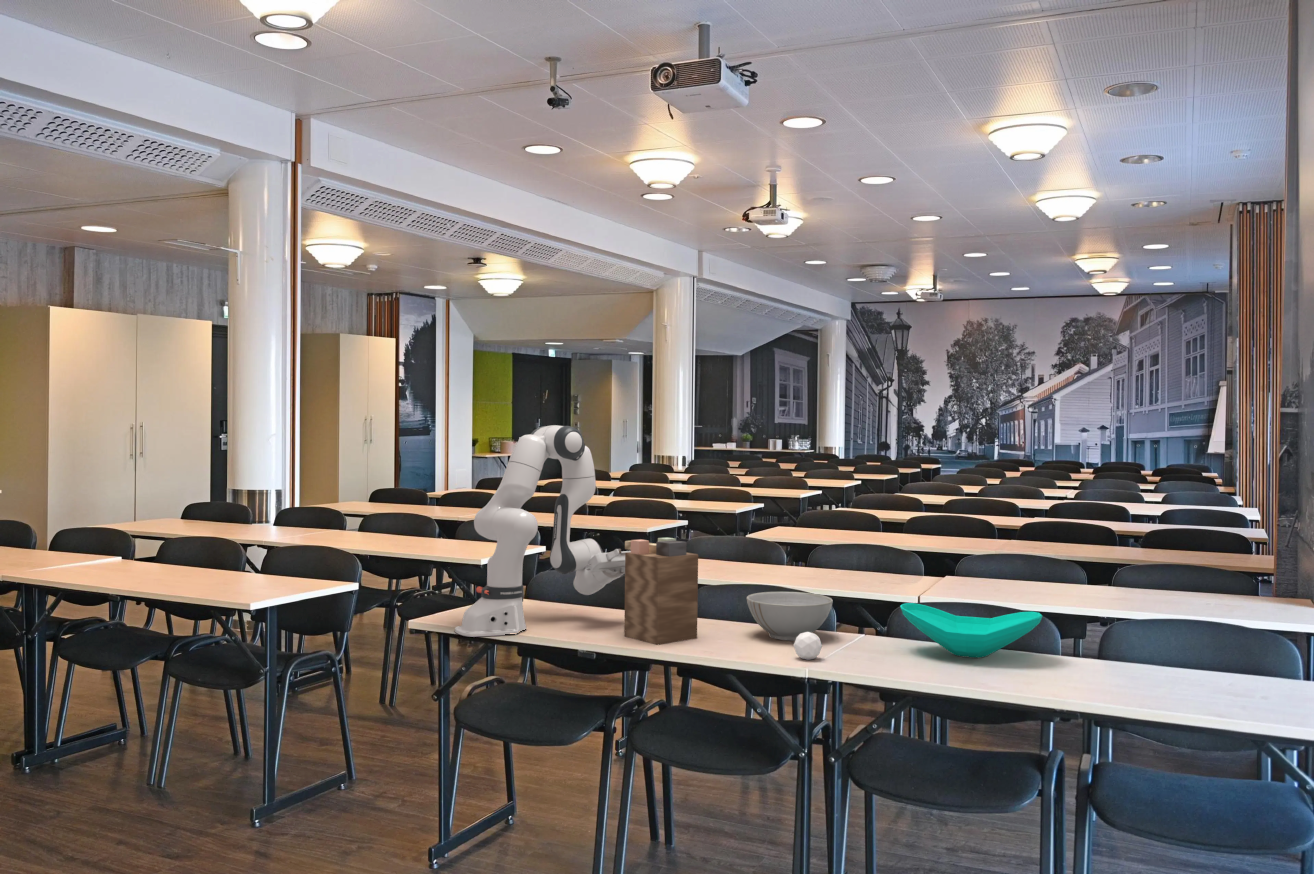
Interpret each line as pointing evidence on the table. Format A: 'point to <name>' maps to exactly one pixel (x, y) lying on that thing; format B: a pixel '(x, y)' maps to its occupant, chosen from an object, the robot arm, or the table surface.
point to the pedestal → (661, 597)
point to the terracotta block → (640, 546)
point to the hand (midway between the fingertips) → (630, 549)
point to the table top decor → (970, 629)
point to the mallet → (664, 548)
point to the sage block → (666, 539)
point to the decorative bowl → (789, 612)
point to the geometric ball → (807, 645)
